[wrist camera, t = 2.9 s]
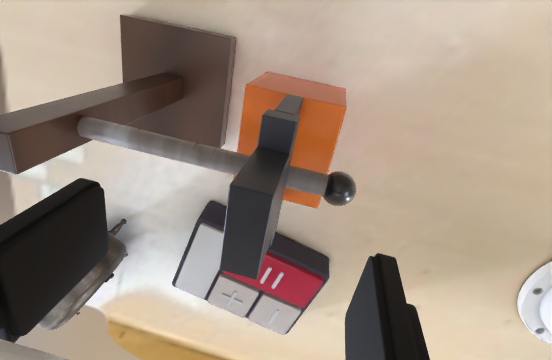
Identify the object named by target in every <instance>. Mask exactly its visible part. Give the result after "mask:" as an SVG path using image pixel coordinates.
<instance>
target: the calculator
mask: <svg viewBox="0 0 552 360" xmlns="http://www.w3.org/2000/svg"><path fill="white" fill-rule="evenodd" d="M226 210H227V207H224V206H222V205H220V204H218V203H216V202H213V201H210V202H209V203H208V204H207V206H206V207H205V209H204V210H203V212H202V214H201V215H200V217H199V218H198V220H197V223H196V225H195V228H194V230H193V232H192V235H191V237H190V240H189V242H188V245H187V247H186V250H185V252H184V255H183V257H182V259H181V262H180V264H179V267H178V269H177V272H176V274H175V277H174V279H173V282H172V285H173V286H175V287H177V288H179V289H181V290H183V291H186V292H188V293H190V294H193V295H195V296H197V297H199V298H202V299H204V300H207V301H208V303H210V304H212V305H215V306H217V307H219V308H222V309H224V310H226V311H228V312H231V313H233V314H235V315H238V316H240V317H246V318H248V319H249V320H250V321H252V322H254V323H256V324H259V325H261V326H263V327H265V328H268V329H270V330H272V331H275V332H277V333H279V334H282V335H284V334H287V333H288V332H289V331H290V329H291V328H292V327H293V325H294V324H295V323H296V321H297V320H298V319H299V317H300V316H301V315H302V313H303V312H304V311H305V310H306V308H307V307H308V306H309V304H310V303H311V302H312V300H313V299H314V298H315V296H316V295H317V294H318V292H319V291H320V290H321V288H322V287H323V286H324V284H325V283H326V282H327V280H328V279H329V258H328V257H326V256H324V255H321V254H319V253H317V252H315V251H313V250H311V249H308V248H306V247H304V246H302V245H300V244H297V243H295V242H293V241H291V240H289V239H287V238H284V237H282V236H280V235H278V234H276V233H275V236H274V239H273V242H272V245H271V247H268V249H267V252H266V255H265V258H264V261H263V263H262V266H261V269H260V272H259V275H258V278H257V280H254V279H250V278H247V277H243V276H239V275H236V274H232V273H229V272H225V271H221V270H219V266H220V258H221V250H222V242H223V234H224V226H225V218H226Z"/></svg>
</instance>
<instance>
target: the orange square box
mask: <svg viewBox="0 0 552 360" xmlns="http://www.w3.org/2000/svg"><path fill="white" fill-rule="evenodd" d="M345 111H346V89H345V88H340V87H336V86H331V85H326V84H322V83H317V82H313V81H308V80H303V79H299V78H294V77H290V76H285V75H280V74H276V73H271V72H266V73H265V74H263V75H261V76H260V77H258V78H256V79H255V80H253V81H251V82H250V83H248V84H247V85H246V88H245V95H244V103H243V111H242V119H241V126H240V134H239V142H238V149H237V153H241V154H245V155H250V157H249V159H248V160H247V161H246V163H245V164H244V166H243V167H242V169H241V170H240V171H239V173H238V174H237V175H234V180H233V181H232V183H231V184H230V186H229V194H228V202H227V210H226V218H225V226H224V234H223V242H222V250H221V258H220V266H219V270H221V271H225V272H229V273H232V274H236V275H239V276H243V277H247V278H250V279H254V280H257V278H258V275H259V272H260V269H261V266H262V263H263V261H264V258H265V255H266V252H267V249H268V247H271V245H272V242H273V239H274V236H275V232H276V227H277V223H278V218H279V213H280V209H281V204H282V200H286V201H290V202H294V203H298V204H302V205H306V206H310V207H313V208H318V207H319V203H320V200H321V196H318V195H314V194H310V193H306V192H302V191H298V190H294V189H290V188H286V187H285V186H286V181H287V177H288V172H289V167H290V165H291V166H295V167H299V168H303V169H307V170H312V171H316V172H320V173H324V174H328V171H329V168H330V164H331V161H332V157H333V153H334V150H335V146H336V143H337V139H338V136H339V132H340V129H341V125H342V121H343V118H344V114H345Z"/></svg>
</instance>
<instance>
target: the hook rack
mask: <svg viewBox="0 0 552 360" xmlns="http://www.w3.org/2000/svg"><path fill="white" fill-rule="evenodd" d="M120 25H121V48H122V71H123V83H122V84H118V85H114V86H110V87H106V88H102V89H99V90H95V91H91V92H87V93H83V94H79V95H76V96H72V97H68V98H64V99H60V100H56V101H53V102H49V103H45V104H41V105H37V106H33V107H30V108H26V109H22V110H18V111H14V112H10V113H7V114H3V115H0V170H1V171H5V172H8V173H12V174H19V173H21V172H23V171H26V170H28V169H30V168H32V167H34V166H37V165H39V164H41V163H43V162H45V161H48V160H50V159H52V158H54V157H56V156H59V155H61V154H63V153H65V152H67V151H69V150H72V149H74V148H76V147H78V146H80V145H83V144H85V143H87V142H89V141H91V140H97V141H101V142H105V143H109V144H113V145H117V146H121V147H125V148H129V149H133V150H137V151H141V152H145V153H149V154H153V155H157V156H161V157H165V158H169V159H173V160H177V161H181V162H185V163H189V164H193V165H197V166H201V167H205V168H209V169H213V170H217V171H221V172H225V173H229V174H233V175H237V174H238V173H239V171H240V170H241V169H242V167H243V166H244V164H245V163H246V161H247V160H248V159H249V157H250V155H245V154H241V153H237V152H233V151H229V150H225V149H221V147H222V146H223V145H224V144H225V137H226V128H227V119H228V109H229V100H230V91H231V82H232V73H233V64H234V54H235V45H236V37H232V36H227V35H222V34H218V33H213V32H208V31H203V30H198V29H194V28H189V27H184V26H179V25H174V24H170V23H165V22H160V21H155V20H151V19H146V18H141V17H136V16H131V15H120ZM285 187H286V188H290V189H294V190H298V191H302V192H306V193H310V194H314V195H318V196H322V197H324V199H325V200H326V201H327V202H328V203H330V204H332V205H334V206H343V205H346V204H348V203H349V202H350V201H351V200H352V199H353V198H354V196H355V193H356V185H355V182H354V180H353V179H352V177H351V176H349V175H348V174H346V173H344V172H333V173H330V174H329V175H328V174H324V173H320V172H316V171H312V170H307V169H303V168H299V167H295V166H291V165H290V167H289V172H288V177H287V181H286V186H285Z"/></svg>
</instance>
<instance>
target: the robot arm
mask: <svg viewBox="0 0 552 360" xmlns="http://www.w3.org/2000/svg"><path fill="white" fill-rule="evenodd" d="M108 249H109V244H108V232H107V221H106V209H105V198H104V190H103V188H101V187H100V184H99V183H98V182H95V181H91V180H87V179H84V178H79V179H77V180H75V181H74V182H72V183H70V184H69V185H67V186H65V187H64V188H62V189H60V190H59V191H57V192H55V193H54V194H52V195H50V196H48V197H47V198H45V199H43V200H42V201H40V202H38V203H37V204H35V205H33V206H32V207H30V208H28V209H27V210H25V211H23V212H22V213H20V214H18V215H16V216H15V217H13V218H12V219H10V220H8V221H7V222H5V223H3V224H1V225H0V360H69V359H66V358H62V357H59V356H56V355H53V354H49V353H46V352H42V351H39V350H36V349H32V348H29V347H26V346H22V345H19V344H15V343H14V342H15V341H16V340H17V339H18V338H19V337H20V336H24V335H26V334H27V333H29V332H30V331H31V330H32V329H33V328H34V327H35V326H36V325H37V324H38V323H39V322H40V321H41V320H42V319H43V318H44V317H45V316H46V315H47V314H48V313H49V312H50V311H51V310H52V309H53V308H54V307H55V306H56V305H57V304H58V303H59V302H60V301H61V300H62V299H63V298H64V297H65V296H66V295H67V294H68V293H69V292H70V291H71V290H72V289H73V288H74V287H75V286H76V285H77V284H78V283H79V282H80V281H81V280H82V279H83V278H84V277H85V276H86V275H87V274H88V273H89V272H90V271H91V270H92V269H93V268H94V267H95V266H96V265H97V264H98V263H99V262H100V261H101V260H102V259H103V258H104V257H105V256H106V254H107V252H108ZM517 305H518V312H519V314H520V317H521V319H522V320H523V322H524V323H525V325H526V327H527V328H528V329H529V330H530V331H531V333H532V334H534V335H535V336H536V337H538V338H540V339H541V340H543V341H545V342H547V343H549V344H552V261H551V262H549V263H547V264H546V265H544V266H542V267H541V268H539V269H538V270H537V271H536V272H535V273H533V274H532V275H531V276H530V277H529V278H528V280H527V281H526V282H525V283H524V285H523V286H522V288H521V290H520V292H519V296H518V301H517ZM345 355H346V360H430V358H429V354H428V351H427V347H426V343H425V340H424V336H423V332H422V328H421V325H420V321H419V317H418V313H417V310H416V308H415V307H414V306H413V305H411V304H407V303H406V299H405V294H404V290H403V286H402V282H401V278H400V273H399V269H398V265H397V261H396V258H394V257H391V256H387V255H383V254H379V253H377V254H376V255H375V257H373V256H370V257H369V258H368V260H367V263H366V265H365V268H364V270H363V273H362V275H361V278H360V280H359V283H358V285H357V288H356V290H355V293H354V295H353V298H352V300H351V303H350V305H349V308H348V310H347V313H346V318H345Z"/></svg>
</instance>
